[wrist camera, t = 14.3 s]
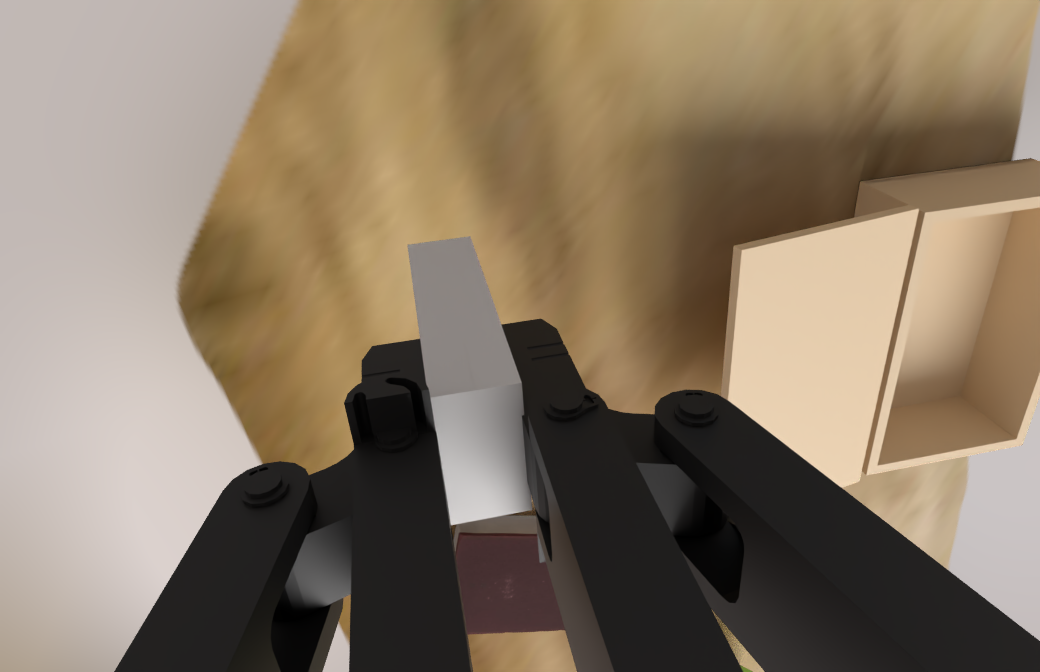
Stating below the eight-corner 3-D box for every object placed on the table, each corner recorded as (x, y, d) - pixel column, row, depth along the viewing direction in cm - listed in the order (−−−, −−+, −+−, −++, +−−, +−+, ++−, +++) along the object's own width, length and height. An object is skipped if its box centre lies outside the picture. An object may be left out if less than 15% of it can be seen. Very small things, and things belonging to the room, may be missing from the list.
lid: (919, 208, 45) (907, 204, 46) (741, 250, 42) (732, 245, 42) (859, 481, 57) (851, 474, 57) (715, 533, 53) (708, 525, 54)
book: (629, 606, 70) (640, 634, 68) (436, 613, 66) (439, 642, 63) (662, 509, 65) (676, 535, 62) (454, 508, 60) (458, 536, 57)
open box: (860, 181, 52) (925, 212, 46) (1031, 158, 53) (1116, 185, 47) (818, 424, 63) (866, 475, 56) (962, 398, 64) (1023, 445, 58)
